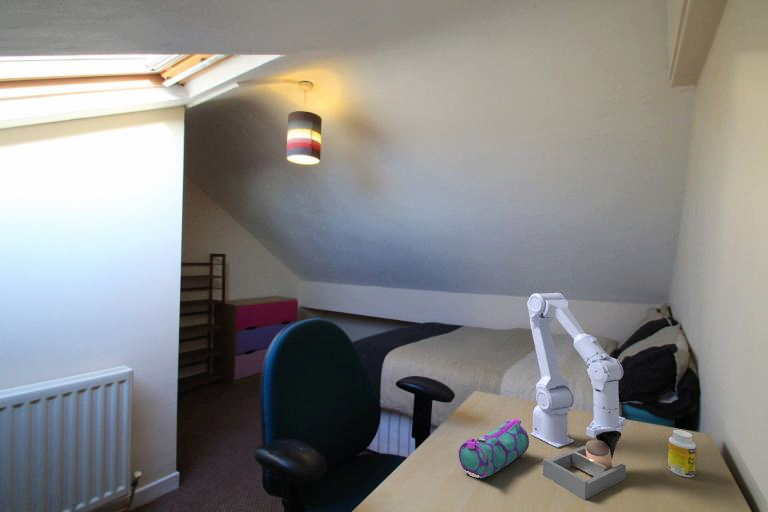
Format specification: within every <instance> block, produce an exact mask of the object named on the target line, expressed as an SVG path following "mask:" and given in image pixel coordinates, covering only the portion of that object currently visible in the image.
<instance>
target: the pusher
mask: <svg viewBox="0 0 768 512" xmlns="http://www.w3.org/2000/svg"><path fill="white" fill-rule="evenodd" d="M572 465H573V466H572V467H576V468H577V469H580V470H581V471H583V472H585V473H587V474H589V475H591V476H592V477H594V476H597V475H599V474H601V473H603V472H605V471H607V467H606V466H604V465H602V464H600V463H598V462H596V461H594V460H592V459H590V458H588V457H586V456H584V455H582V454H580V453H578V452H576V451H573V452H572Z"/></svg>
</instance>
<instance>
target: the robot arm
mask: <svg viewBox="0 0 768 512" xmlns="http://www.w3.org/2000/svg"><path fill="white" fill-rule="evenodd" d="M526 305H527V309H528V315H529V324H530V329H531V333H532V339H533V342H534V344H533V345H534V349H535V352H536V357H537V362H538V366H539V371H540V372H539V373H540V377H541V378H540V380H538V382H537V383H536V385H535V390H536V394H535V399H536V403H537V405H536V406H535V407H534V409H533V410H532V411H533V412H532V432H530V435H532V436H533V437H535V438H537V439H539V440H541V441H543V442H545V443H547V444H549V445H551V446H553V447H555V448H557V449H559V448H561V447H564V446H566V445H570V444H571V443H574V442H575V440H574V439H573V438H570V437H569V436H568V432H569V428H568V426H569V424H568V423H569V412H570V410H571V407H573V406H574V404H575V396H574V393H573V391H572V390H571V388H570V385H569V382H568V381H567V380H566V379H565V378H564V377H562V376H561V372H560V367H559V363H558V359H557V353H556V349H555V344H554V341H553V337H552V331H551V328H550V324H551V322H552V321H553V320H554V319H555V320H557V321H558V322H559V324H560V325H561V327H562V328H564V330H565V331H566V332H567V333H568V335H569V336H570V337H571V338H572V339H573V347H574V349H575V350H576V352H577V354H579V356H580V358H581V359H582V361H584V363H585V364H586V366H588V367H587V368H586V370H587V374H588V377H589V378H590V382H591V386H592V389H593V390H592V392H593V393H592V396H593V397H592V399H593V402H592V404H593V420H592V421H591V422H590V424H589V426H587V427H586V428H585V429H586V434H585V435H586V436H588V437H590V438H593V439H596V440H601V441H603V442H605V443H606V444H607V445H608V447H609V448H610V453H611V459H612V460H613V457H614V454H615V450H616V446H617V444H618V441H619V440H620V439H621V437H622V432H623V431H624V430H625V428H624V427H625V426H626V418H625V417H622V416H620V407H619V405H620V404H619V403H620V402H619V401H620V400H619V381H620V380H621V379H622V378H623V376H624V369H623V366H622V364H621V363H620V361H619V359H616V358H614V357H611V356H610V355H609V354H608V353H607V352H606V351H605V350H604V349H603V347H602V346H601V345H600V343H599V342H598V339H597V338H596V337H595V336H593V335H592V334H587V333H585V330H584V329H583V328H582V326H581V325H580V323H579V322H578V320H577V319H576V318H575V316H574V314H573V313H572V311H571V310H570V309H569V301H568V300H567V299H566V298H565V296H564V295H563V294H562V293H560V292H553V293H550V292H549V293H548V292H547V293H537V292H536V293H532V294H531V295H530V297H529V298H528V301H526Z"/></svg>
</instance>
